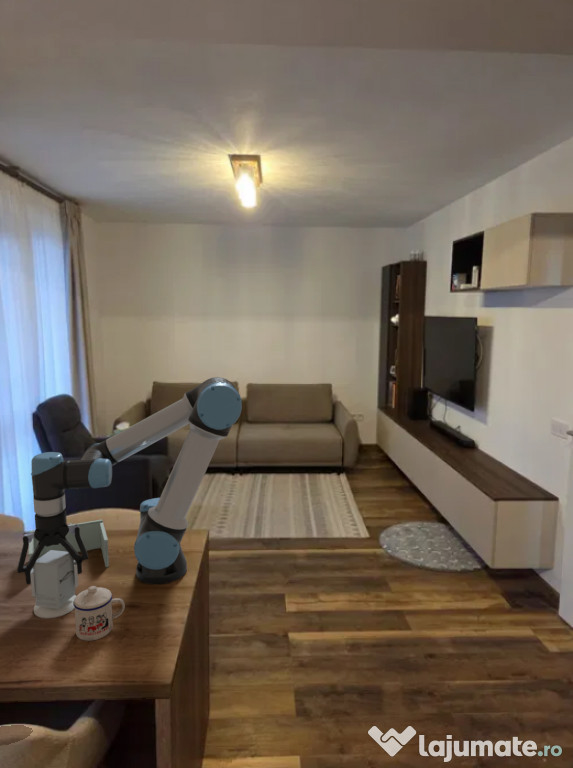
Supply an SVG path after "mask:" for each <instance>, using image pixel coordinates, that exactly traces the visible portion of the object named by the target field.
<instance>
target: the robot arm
mask: <svg viewBox="0 0 573 768" xmlns="http://www.w3.org/2000/svg"><path fill="white" fill-rule="evenodd" d="M242 402H243V401H242V397H241V394H240V393H239V391H238V390H237V389H236V387H235V385H234V384H233V383H232V382H231V381H230V380H229V379H227V378H224V377H218V376H215V377H210V378H207V379H206V380H204V381H202V382H201V383H199V384H198V385H197V386H194V387H193V388H192V389H190V390H188V391H186V392H185V393H184V394H183V397H182V398H181V399H179V400H177V401H176V402H173V403H172V404H170V405H168V406H166V407H164V408H163V409H160V410H159V411H157V412H155V413H153V414H150V415H149V416H148V417H145V418H144V419H142V420H141V421H138V422H137V423H135V424H133V425H131V426H129V427H127V428H125V429H123V430H122V431H120V432H118V433H116V434H114V435H112V436H111V437H109V438H107V439H105V440H104V441H101V442H99V443H98V442H97V443H94V444H92V445H91V446H90V447H88V448H87V449H86V450H85V452H84V454H83V455H82V457H81V459H76V460H74V459H73V460H67V459H66V460H64V457H63V455H62V453H61V452H58V451H57V452H54V451H48V452H47V451H45V452H41V453H38V454H36V455H34V456H33V458H32V459H31V465H30V466H31V473H30V475H31V483H32V484H31V485H32V494H33V496H32V497H33V500H32V501H33V511H34V513H35V514H34V527H35V530H34V531H35V532H34V533H30V532H29V533H27V532H24V533H23V534H22V543H23V544H22V548H21V553H20V557H19V561H18V564H17V570H16V571H17V573H18V574H21V573H23V574H25V584H26V585H30V587H31V590H30V591H31V597H32V598H33V597H35V585H34V570H33V569H32V568H33V566H34V564H35V562H36V561H37V559H38V557H39V555H40V553H41V551H42V550H43V548H44V546H46V547H48V546H51V545H59V544H61V545H62V546H63V547H64V548H65V549H66V550H67V551H68V553H69V554H70V555H71V556H72V557H73V559H74V575H75V588H78V587H79V574H82V572H83V565H82V563H83V561H87V560H88V559H89V553H88V550H86V548H85V546H84V543H83V541H82V538H81V536H80V528H79V525H78V524H77V523H75V524H76V525H75V526H72V527H68V525H67V524H68V523H67V520H68V519H67V510H66V492H65V491H66V490H74V489H76V490H79V489H98V488H106V487H109V486H110V485H111V484H112V480H113V479H112V478H113V466H115V465H117V464H119V463H120V462H121V461H124V460H126V459H127V458H129V457H130V456H133V455H134V454H137V453H138V452H140V451H142V450H144V449H146V448H148V447H149V446H151V445H153V444H154V443H156V442H158V441H160V440H162V439H164V438H165V437H168V436H170V435H171V434H173V433H175V432H176V431H178V430H180V429H182V428H184V427H186V426H188V425H189V431H188V432H187V435H186V437H185V440H184V442H183V444H182V447H181V449H180V451H179V454H178V456H177V458H176V460H175V463H174V465H173V467H172V470H171V472H170V474H169V477H168V479H167V481H166V484H165V486H164V488H163V490H162V493H161V495H160V497H154V498H151V499H150V498H149V499H146V500H143V501H142V502H141V503H140V505H139V515H140V518H139V519H140V520H139V521H140V522H139V526H138V530H137V535H136V539H135V542H134V546H133V550H134V556H135V558H136V560H137V563H136V567H135V568H136V569H135V570H136V578H137V579H138V581H140V582H141V583H144V584H147V585H165V584H169V583H172V582H173V583H174V582H175V581H178V580H179V579H181V578H183V576H184V575H185V574H186V572H187V570H188V566H187V564H188V563H187V562H188V561H187V559H186V556H185V554H184V551H183V549H182V544H181V542H182V540H183V537H184V535H185V533H186V531H187V528H188V526H189V522H188V519H187V515H188V512H189V510H190V509H191V506H192V503H193V502H194V498H195V496H197V495H196V494H197V492H198V490H199V487H200V485H201V483H202V482H203V479H204V476H205V474H206V472H207V470H208V467H209V466H210V465H209V464H210V462H211V461H212V458H213V457H214V454H215V452H216V449H217V447H218V445H219V443H220V441H221V440H223V439H226V438H228V435H229V434H230V431H231V430H232V427H233V426H234V424H236V422H238V419H239V418H240V416H241V413H242V410H243V409H242V408H243V403H242ZM68 532H71V533H72V535H75V539H76V541H77V544H78V546H79V548H80V551H81V552H80V553H81V554H79V552H77V551H76V550H75V549H74V548H73V546H72V545H71V544H70V543H69V542H68V540H67V538H66V535H67V534H68ZM33 538H36V539H37V540H38V541H39V542H38V545H37V547H36V549H35V551H34V553H33V554H32V556H31V558H30V560H29V559H28V562H27V564H26V565H25V563H26V559H27V555H28V552H29V543H30V542H31V541H32V539H33Z"/></svg>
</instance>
